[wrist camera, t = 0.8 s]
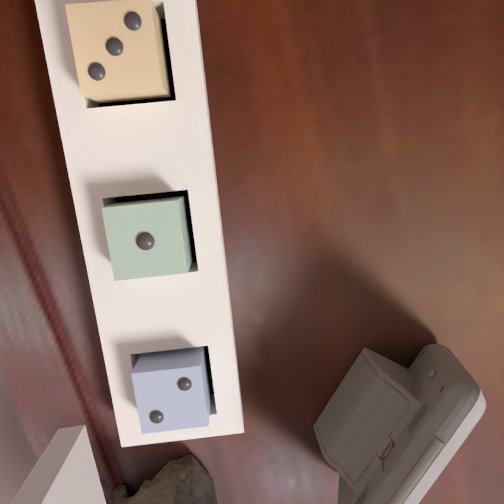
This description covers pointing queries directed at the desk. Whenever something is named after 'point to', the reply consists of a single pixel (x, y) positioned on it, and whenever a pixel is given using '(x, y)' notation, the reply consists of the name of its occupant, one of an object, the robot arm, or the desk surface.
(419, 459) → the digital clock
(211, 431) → the tile panel
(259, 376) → the desk surface
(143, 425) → the tile two
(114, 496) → the grey rock
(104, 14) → the tile three
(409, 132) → the desk surface
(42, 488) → the robot arm
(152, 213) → the tile one
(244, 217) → the desk surface
